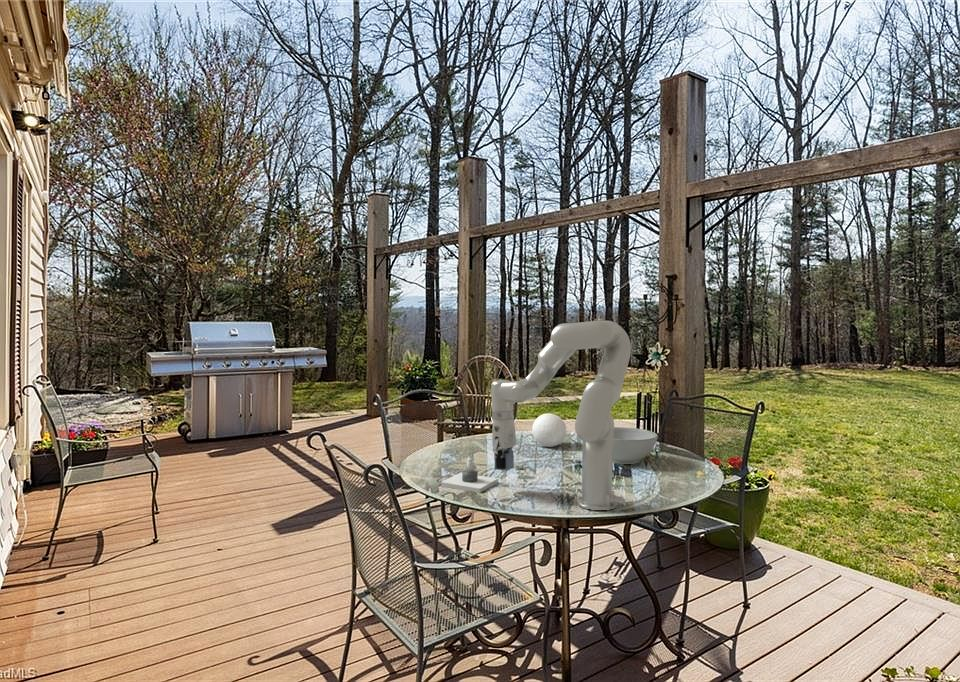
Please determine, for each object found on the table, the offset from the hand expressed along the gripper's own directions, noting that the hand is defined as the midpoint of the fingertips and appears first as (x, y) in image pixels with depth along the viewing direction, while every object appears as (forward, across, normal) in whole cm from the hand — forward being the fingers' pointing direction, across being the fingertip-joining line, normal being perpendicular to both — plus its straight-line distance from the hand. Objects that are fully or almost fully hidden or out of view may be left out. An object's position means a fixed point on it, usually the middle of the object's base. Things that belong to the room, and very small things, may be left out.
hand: (504, 466), depth 192 cm
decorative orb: (+8, +72, +12) cm, 74 cm away
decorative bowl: (+10, +62, -27) cm, 68 cm away
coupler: (+1, 0, 0) cm, 1 cm away
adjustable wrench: (+9, +36, +16) cm, 40 cm away
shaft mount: (+8, 0, +14) cm, 16 cm away
